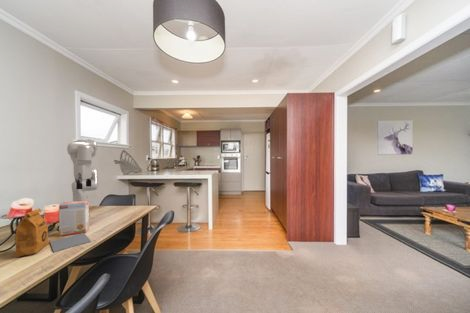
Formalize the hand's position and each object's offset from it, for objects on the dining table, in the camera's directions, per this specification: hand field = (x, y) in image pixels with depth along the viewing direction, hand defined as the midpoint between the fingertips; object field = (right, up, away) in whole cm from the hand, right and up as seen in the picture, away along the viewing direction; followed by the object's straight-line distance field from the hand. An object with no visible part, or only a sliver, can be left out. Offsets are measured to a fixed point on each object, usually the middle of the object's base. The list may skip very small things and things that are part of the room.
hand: (84, 187), depth 124 cm
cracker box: (-4, -30, -3) cm, 31 cm away
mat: (+5, -30, -16) cm, 34 cm away
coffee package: (-6, -30, -26) cm, 41 cm away
